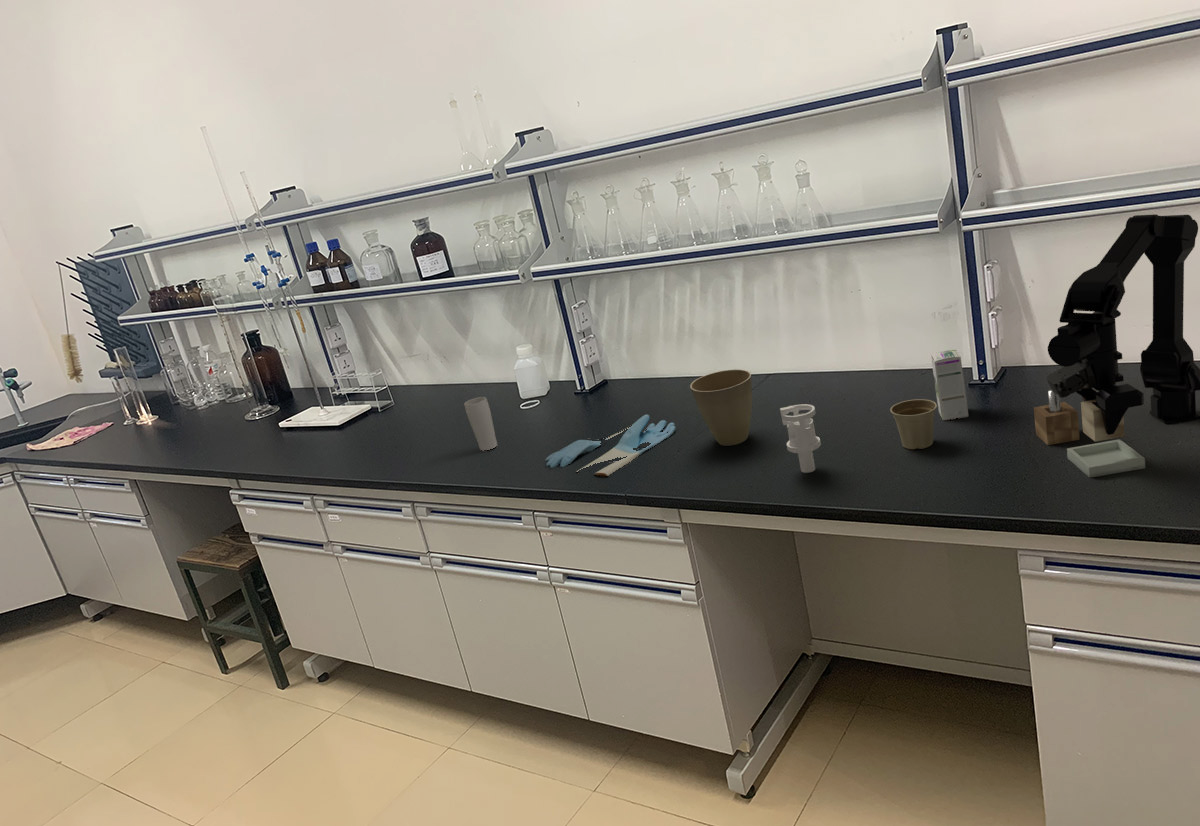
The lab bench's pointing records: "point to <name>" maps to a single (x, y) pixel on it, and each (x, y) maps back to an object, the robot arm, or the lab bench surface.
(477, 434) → the drinking glass
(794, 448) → the strainer
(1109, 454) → the tray
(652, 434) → the rubber gloves
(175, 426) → the lab bench surface
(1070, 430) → the bored oak block
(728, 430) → the plant pot
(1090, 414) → the maple block
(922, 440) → the flower pot
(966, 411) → the syrup box
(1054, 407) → the rod
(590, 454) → the lab bench surface
